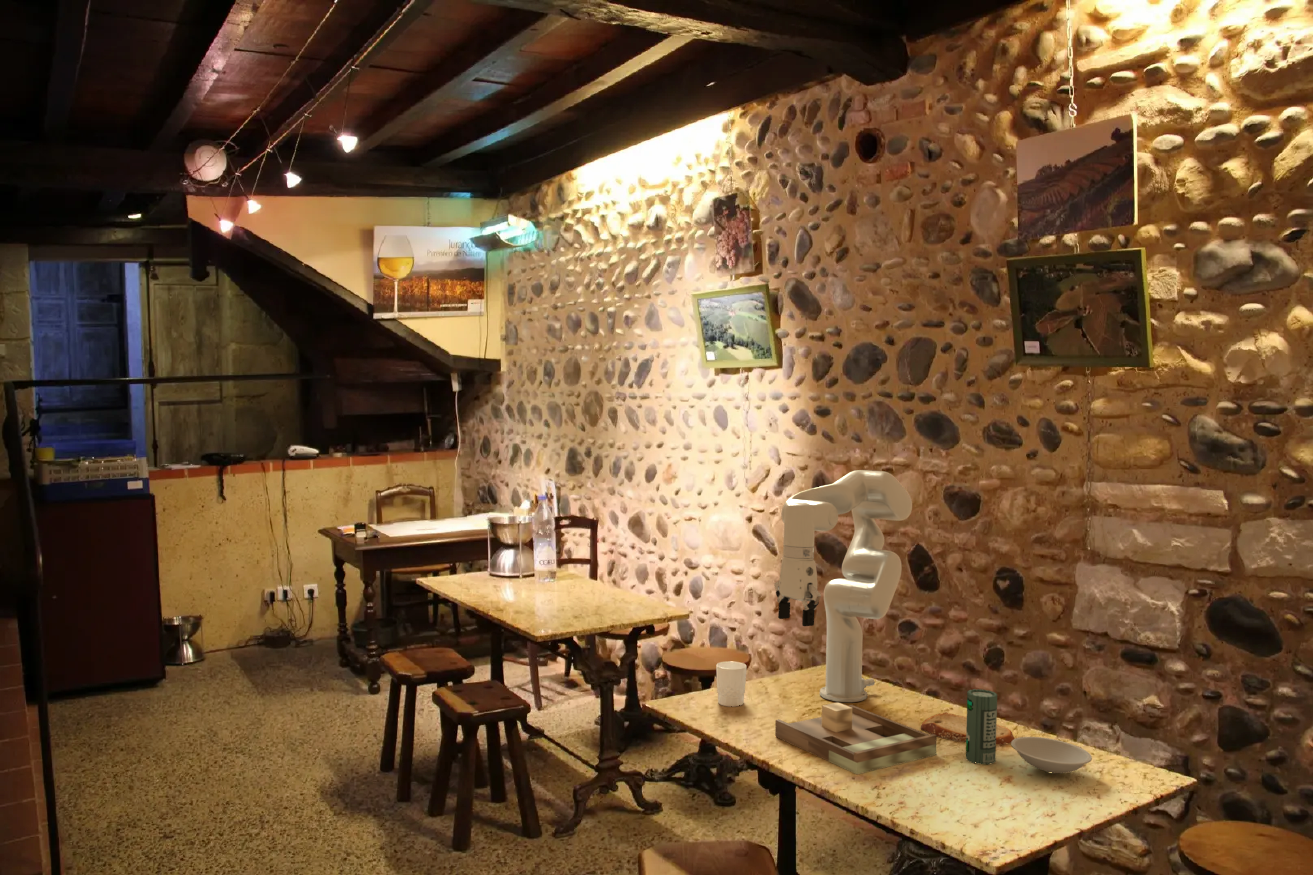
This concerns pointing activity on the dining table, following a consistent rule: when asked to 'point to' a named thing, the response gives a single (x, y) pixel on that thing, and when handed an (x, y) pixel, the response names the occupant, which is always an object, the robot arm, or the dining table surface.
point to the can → (981, 726)
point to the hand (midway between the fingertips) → (795, 622)
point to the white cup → (731, 683)
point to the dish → (1051, 754)
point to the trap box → (860, 741)
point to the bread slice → (959, 728)
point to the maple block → (836, 717)
